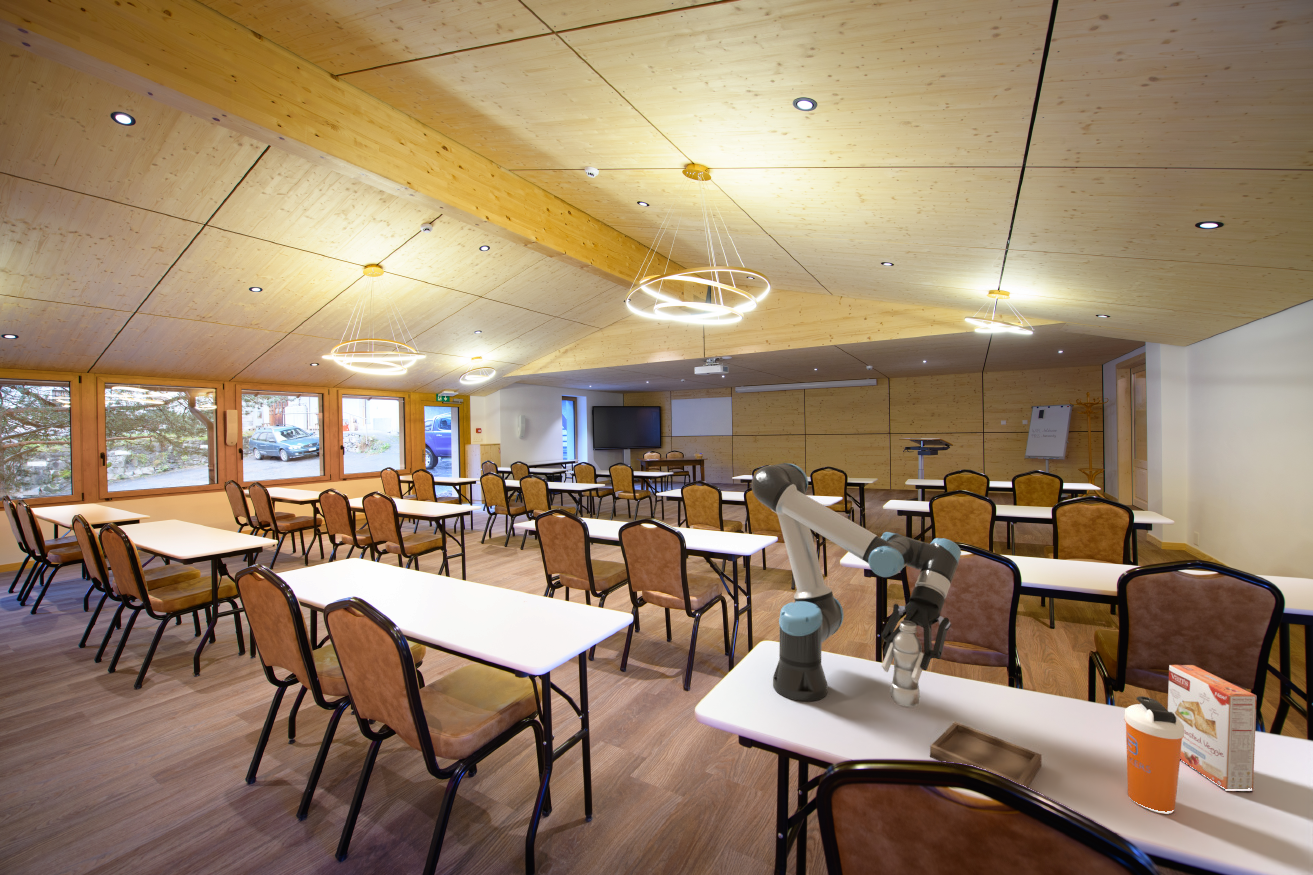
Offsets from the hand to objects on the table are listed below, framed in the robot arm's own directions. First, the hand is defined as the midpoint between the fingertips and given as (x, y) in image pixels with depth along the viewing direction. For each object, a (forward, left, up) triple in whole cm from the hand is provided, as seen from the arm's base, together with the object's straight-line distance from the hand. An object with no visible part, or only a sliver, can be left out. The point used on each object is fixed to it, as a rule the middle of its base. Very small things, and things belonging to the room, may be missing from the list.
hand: (899, 674), depth 131 cm
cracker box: (+51, +38, -16) cm, 66 cm away
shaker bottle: (+44, +16, -16) cm, 50 cm away
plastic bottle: (0, +4, -9) cm, 9 cm away
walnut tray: (+17, +6, -16) cm, 24 cm away
